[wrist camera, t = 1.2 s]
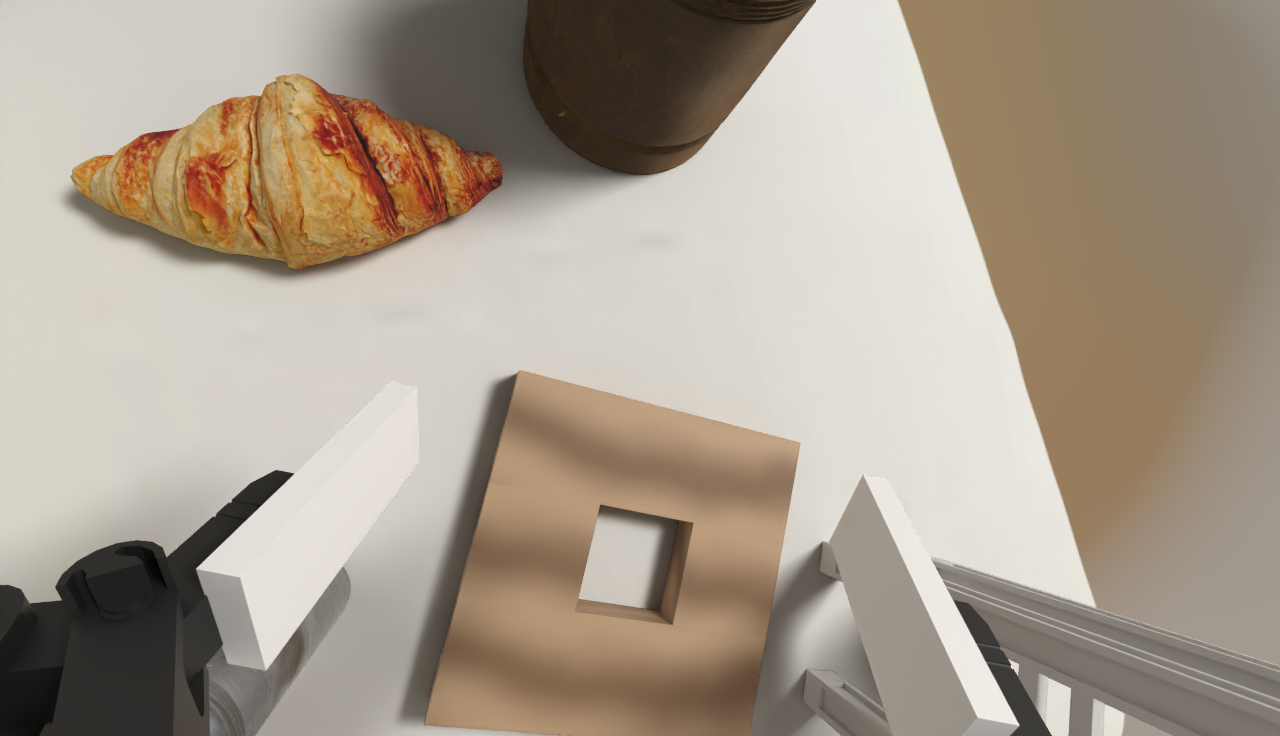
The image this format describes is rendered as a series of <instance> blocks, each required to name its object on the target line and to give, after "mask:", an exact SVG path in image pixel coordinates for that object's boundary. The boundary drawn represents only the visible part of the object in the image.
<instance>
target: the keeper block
mask: <svg viewBox="0 0 1280 736" xmlns="http://www.w3.org/2000/svg"><path fill="white" fill-rule="evenodd" d="M799 449H800V443H799V442H795V441H791V440H788V439H784V438H780V437H776V436H772V435H768V434H764V433H761V432H757V431H753V430H749V429H745V428H741V427H737V426H734V425H730V424H726V423H722V422H718V421H714V420H710V419H707V418H703V417H699V416H695V415H691V414H687V413H683V412H680V411H676V410H672V409H668V408H664V407H660V406H656V405H653V404H649V403H645V402H641V401H637V400H633V399H629V398H626V397H622V396H618V395H614V394H610V393H606V392H602V391H599V390H595V389H591V388H587V387H583V386H579V385H575V384H572V383H568V382H564V381H560V380H556V379H552V378H548V377H545V376H541V375H537V374H533V373H529V372H525V371H521V370H519V371H518V373H517V375H516V379H515V382H514V386H513V390H512V393H511V397H510V401H509V405H508V408H507V412H506V416H505V419H504V423H503V427H502V430H501V434H500V438H499V442H498V445H497V449H496V453H495V456H494V460H493V464H492V468H491V471H490V475H489V479H488V482H487V486H486V490H485V493H484V497H483V501H482V505H481V508H480V512H479V516H478V519H477V523H476V527H475V530H474V534H473V538H472V542H471V545H470V549H469V553H468V556H467V560H466V564H465V567H464V571H463V575H462V579H461V582H460V586H459V590H458V593H457V597H456V601H455V604H454V608H453V612H452V616H451V619H450V623H449V627H448V630H447V634H446V638H445V642H444V645H443V649H442V653H441V656H440V660H439V664H438V667H437V671H436V675H435V679H434V682H433V686H432V690H431V693H430V697H429V701H428V706H427V711H426V717H425V722H424V725H430V726H444V727H457V728H471V729H485V730H499V731H513V732H526V733H540V734H554V735H568V736H749V733H750V727H751V721H752V716H753V710H754V704H755V699H756V693H757V687H758V682H759V676H760V670H761V665H762V659H763V653H764V648H765V642H766V636H767V631H768V625H769V619H770V614H771V608H772V602H773V597H774V591H775V585H776V580H777V574H778V568H779V563H780V557H781V551H782V546H783V540H784V534H785V528H786V523H787V517H788V511H789V506H790V500H791V494H792V489H793V483H794V477H795V472H796V466H797V460H798V455H799ZM600 504H601V505H606V506H611V507H616V508H621V509H626V510H631V511H636V512H641V513H646V514H651V515H656V516H661V517H666V518H672V519H677V520H679V521H678V526H677V531H676V536H675V540H674V545H673V550H672V555H671V560H670V564H669V569H668V574H667V579H666V584H665V588H664V593H663V598H662V603H661V607H660V611H657V610H650V609H643V608H636V607H629V606H622V605H615V604H609V603H602V602H595V601H588V600H581V599H578V597H579V593H580V589H581V584H582V580H583V576H584V572H585V567H586V563H587V559H588V555H589V550H590V546H591V542H592V537H593V533H594V529H595V525H596V520H597V516H598V512H599V508H600Z"/></svg>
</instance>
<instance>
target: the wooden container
mask: <svg viewBox="0 0 1280 736" xmlns="http://www.w3.org/2000/svg"><path fill="white" fill-rule="evenodd" d="M815 2H816V0H528V10H527V19H526V27H525V37H524V50H523V62H524V72H525V77H526V81H527V85H528V88H529V91H530V94H531V96H532V99H533V101H534V103H535V105H536V107H537V109H538V111H539V112H540V113H541V115H542V117H543V118H544V120H545V121H546V123H547V124H548V125H549V126H550V128H551V129H552V130H553V131H554V133H555V134H556V135H557V136H558V137H559V138H560V139H561V140H562V141H563V142H564V143H565V144H566V145H568V146H569V147H570V148H572V149H573V150H575V151H576V152H577V153H579V154H580V155H582V156H583V157H585V158H587V159H589V160H590V161H592V162H594V163H596V164H599V165H601V166H604V167H607V168H610V169H613V170H616V171H621V172H627V173H634V174H648V173H655V172H660V171H665V170H668V169H671V168H674V167H676V166H678V165H680V164H682V163H684V162H686V161H687V160H688V159H690V158H691V157H692V156H693V155H695V154H696V153H697V152H698V151H699V150H700V149H701V148H702V147H703V145H704V144H705V143H706V142H707V141H708V139H709V138H710V137H711V136H712V134H713V133H714V132H715V131H716V130H717V128H718V127H719V126H720V124H721V123H722V122H723V121H724V120H725V119H726V118H727V117H728V115H729V114H730V113H731V111H732V110H733V109H734V108H735V106H736V105H737V104H738V103H739V102H740V100H741V99H742V98H743V97H744V95H745V94H746V93H747V91H748V90H749V89H750V87H751V86H752V85H753V83H754V82H755V81H756V79H757V78H758V77H759V75H760V74H761V73H762V71H763V70H764V69H765V67H766V66H767V65H768V63H769V62H770V60H771V59H772V58H773V56H774V55H775V54H776V52H777V51H778V50H779V48H780V47H781V46H782V44H783V43H784V42H785V41H786V39H787V38H788V37H789V35H790V34H791V33H792V31H793V30H794V29H795V28H796V26H797V25H798V24H799V22H800V21H801V20H802V19H803V17H804V16H805V15H806V13H807V12H808V11H809V9H810V8H811V7H812V6H813V4H814V3H815Z"/></svg>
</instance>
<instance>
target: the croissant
mask: <svg viewBox="0 0 1280 736" xmlns="http://www.w3.org/2000/svg"><path fill="white" fill-rule="evenodd" d="M276 80H277V81H276V82H273V83H270V84H268V85H266V87H265V88H264V91H263V94H262V96H261V97H260V96H253V95H252V96H247V97H234V98H230V99H228V100H226V101H224V102H223V103H221V104H217V105H214V106H211V107H209V108H208V109H207V110H206V111H205V112H204V113H203V114H202V115H200V116H199V117H198V119H197V120H196V121H195V122H194V123H193V124H191V125H188V126H186V127H184V128H181V129H175V130H169V131H161V132H152V133H147V134H143V135H141V136H139V137H138V138H136V139H135V140H134V141H132V142H131V143H129V144H128V145H126V146H124V147H123V148H121V149H120V150H119V151H118V152H117V153H115V155H104V156H95V157H93V158H91V159H89V160H87V161H85V162H83V163H82V164H80V165H78V166H76V167H75V168H73V170H72V175H71V176H70V177H71V179H72V181H73V183H74V185H75V187H76V188H77V189H78V190H79V191H80V192H81V193H82V194H83V195H85V196H86V197H87V198H89V199H90V200H92V201H94V202H95V203H97V204H99V205H101V206H103V207H104V208H105V209H106V210H108V211H110V212H113V213H114V214H116V215H119V216H122V217H126V218H130V219H132V220H135V221H138V222H141V223H143V224H146V225H149V226H151V227H153V228H155V229H157V230H159V231H161V232H163V233H165V234H168V235H171V236H174V237H179V238H180V239H184V240H185V241H187V242H189V243H191V244H193V245H196V246H201V247H206V248H211V249H213V250H215V251H219V252H224V253H229V254H242V255H250V256H256V257H260V258H268V259H276V260H280V261H284V262H286V263H287V265H288V266H289V267H290V268H294V269H301V268H304V267H307V266H311V265H314V264H321V263H325V262H328V261H331V260H335V259H338V258H341V257H343V256H344V255H346V256H355V255H360V254H365V253H368V252H370V251H373V250H375V249H378V248H382V247H384V246H387V245H389V244H392V243H394V242H396V241H397V240H399V239H401V238H403V237H405V236H408V235H413V234H416V233H418V232H420V231H422V230H424V229H426V228H429V227H431V226H433V225H435V224H437V223H439V222H441V221H442V220H444V219H446V218H447V217H448V216H457V215H460V214H463V213H466V212H468V211H469V210H470V209H471V208H472V207H473V206H475V205H476V204H477V203H478V202H479V201H481V200H482V199H483V198H484V197H485V196H486V195H487V194H488V193H490V192H491V191H492V190H494V189H496V188H498V187H499V186H500V185H501V184H502V179H503V169H502V167H501V164H500V161H499V159H498V158H497V157H496V156H494V155H493V154H492V153H491V152H482V153H480V152H469V151H464V150H463V149H462V148H461V147H460V146H459V145H458V144H457V143H456V142H455V141H454V140H453V139H452V138H451V137H449V136H447V135H443V134H442V133H440V132H438V131H436V130H435V129H430V128H427V127H425V126H423V125H417V126H415V125H414V124H412V123H411V122H410V121H406V120H400V119H394V118H392V117H391V116H390V115H389V114H387V113H385V112H384V111H382V110H381V109H379V108H378V106H377V104H374V103H373V102H372V101H371V100H367V99H364V100H358V99H355V98H349V97H345V96H343V95H334V94H330V93H328V92H327V91H326V90H325V89H324V88H322V87H321V86H320V85H318V84H317V83H316V82H314V81H313V80H311V79H308V78H306V77H304V76H301V75H299V74H295V75H291V76H286V75H283V76H280V77H276Z"/></svg>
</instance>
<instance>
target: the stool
mask: <svg viewBox="0 0 1280 736" xmlns="http://www.w3.org/2000/svg"><path fill="white" fill-rule="evenodd" d="M930 558H931V560H932V562H933V564H934V565H935V567H936V569H937V571H938V573H939V575H940V577H941V579H942V581H943V582H944V584H945V586H946V588H947V590H948V592H949V594H950V596H951V597H952V599H953V600H956V601H961V602H966V603H969V604H970V605H971V606H972V608H973V609H974V610H975V611H976V612H977V613H978V614H979V615H980V616H981V617H982V618H983V619H984V621H985V622H986V623H987V624H988V625H989V627H990V629H991V631H992V632H993V634H994V636H995V638H996V639H997V641H998V643H999V645H1000V650H1002V651H1003V652H1004V653H1005V655H1006V657H1007V659H1009V660H1012V661H1014V662H1016V663H1018V664H1019V672H1018V678H1019V679H1020V681H1021V683H1022V685H1023V686H1024V688H1025V690H1026V692H1027V693H1028V695H1029V697H1030V699H1031V700H1032V702H1033V704H1034V706H1035V707H1036V709H1037V711H1038V713H1039V714H1040V716H1041V718H1042V720H1043V721H1044V723H1045V722H1046V706H1047V690H1048V678H1050V679H1053V680H1055V681H1057V682H1059V683H1061V684H1063V685H1065V686H1068V687H1070V688H1071V701H1070V719H1069V736H1103V733H1104V711H1105V704H1106V705H1109V706H1111V707H1113V708H1115V709H1117V710H1119V711H1122V712H1124V713H1126V714H1128V715H1130V716H1132V717H1134V718H1137V719H1139V720H1141V721H1143V722H1145V723H1148V724H1150V725H1152V726H1154V727H1156V728H1158V729H1160V730H1162V731H1165V732H1167V733H1169V734H1171V735H1173V736H1280V666H1279V665H1276V664H1273V663H1269V662H1266V661H1263V660H1260V659H1257V658H1254V657H1251V656H1247V655H1244V654H1241V653H1238V652H1235V651H1232V650H1228V649H1225V648H1222V647H1219V646H1216V645H1212V644H1209V643H1206V642H1203V641H1199V640H1196V639H1193V638H1190V637H1187V636H1184V635H1181V634H1177V633H1174V632H1171V631H1167V630H1165V629H1162V628H1158V627H1155V626H1152V625H1149V624H1146V623H1142V622H1139V621H1136V620H1133V619H1130V618H1126V617H1123V616H1120V615H1117V614H1114V613H1111V612H1108V611H1104V610H1101V609H1098V608H1095V607H1092V606H1088V605H1085V604H1082V603H1079V602H1076V601H1073V600H1069V599H1066V598H1063V597H1060V596H1057V595H1053V594H1050V593H1047V592H1044V591H1041V590H1038V589H1034V588H1031V587H1028V586H1025V585H1022V584H1018V583H1015V582H1012V581H1009V580H1006V579H1003V578H999V577H996V576H993V575H990V574H987V573H983V572H980V571H977V570H974V569H971V568H968V567H964V566H961V565H958V564H955V563H952V562H948V561H945V560H942V559H938V558H932V557H930ZM819 571H820V572H822V573H824V574H826V575H828V576H830V577H833V578H835V579H837V580H839V581H841V582H843V581H842V578H841V575H840V572H839V569H838V566H837V562H836V559H835V556H834V553H833V550H832V547H831V544H830V543H829V542H823V544H822V552H821V559H820V567H819ZM803 702H804V703H805V704H807V705H808V706H809V707H810V708H811V709H812V710H813V711H814V712H816V713H817V714H818V715H819V716H820V717H821V718H822V719H823V720H824V721H826V722H827V723H828V724H829V725H830V726H831V727H832V728H833V729H835V730H836V731H837V732H838V733H839V734H840V735H841V736H893V735H892V732H891V729H890V726H889V723H888V720H887V717H886V714H885V711H884V708H883V707H881V706H880V705H879V704H877V703H876V702H875V701H873V700H872V699H870V698H869V697H868V696H866V695H865V694H864V693H862V692H861V691H860V690H858V689H857V688H855V687H854V686H853V685H851V684H850V683H849V682H847V681H846V680H844V679H843V678H842V677H840V676H839V675H838V674H836V673H835V672H834V671H824V670H810V669H807V671H806V679H805V686H804V694H803Z"/></svg>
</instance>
